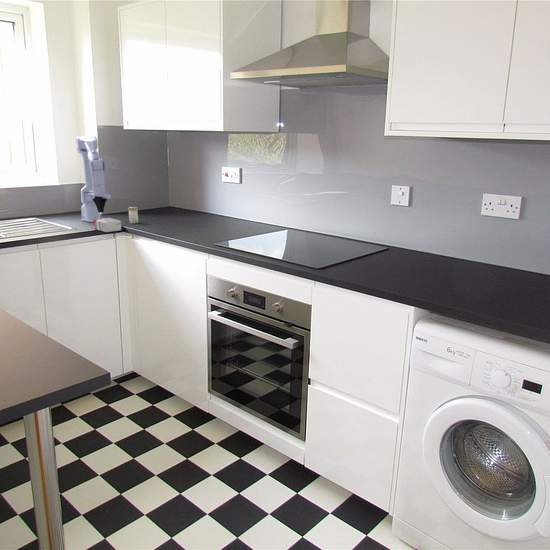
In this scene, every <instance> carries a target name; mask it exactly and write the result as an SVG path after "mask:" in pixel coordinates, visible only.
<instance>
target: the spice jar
mask: <svg viewBox="0 0 550 550" xmlns="http://www.w3.org/2000/svg"><path fill="white" fill-rule="evenodd" d="M127 209H128V219H129V224H138V223H139V215H138V206H137V207H136V206H128V208H127Z"/></svg>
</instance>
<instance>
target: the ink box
mask: <svg viewBox="0 0 550 550" xmlns="http://www.w3.org/2000/svg"><path fill="white" fill-rule="evenodd" d="M93 226H94V230H96V231H99V232H104V233H111V232H117V231H122V221H121V220H118V219H114V218H112V217H107V218H106V217H105V218H100V219H96V220H94V222H93Z"/></svg>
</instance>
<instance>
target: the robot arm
mask: <svg viewBox="0 0 550 550" xmlns="http://www.w3.org/2000/svg"><path fill="white" fill-rule="evenodd" d="M98 147H99V141H98V138H97V137H96V136H77V137H76V149H77V153H78V154H80V155H81V158H82V163H83V164H82V165H83V173H84V181H85V182H84V183H85V185H84V186H83V187H82V188H81V189H80V200H81V203H82V205H81V207H80V209H81V212H80V213H81V219H80V221H82V222H88V223H89V222H91V223H94V220H96V219H101V215H100V214H102V213H104V210H105V205H106V203H107V201H108V199H109V200H110V199H112V195H111V194H110V193H106V185H105V183H106V182H105V171H106V169H105V168H106V167H105V166H106V165H105V161H104V159H103V158H101V155H100V153H99V151H97V150H98Z"/></svg>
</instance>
